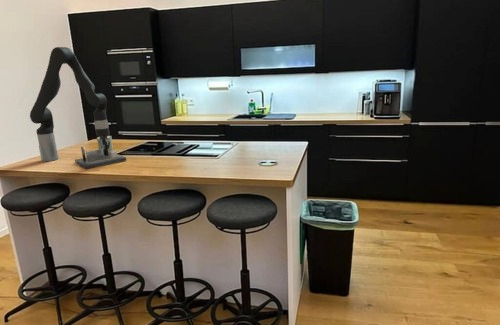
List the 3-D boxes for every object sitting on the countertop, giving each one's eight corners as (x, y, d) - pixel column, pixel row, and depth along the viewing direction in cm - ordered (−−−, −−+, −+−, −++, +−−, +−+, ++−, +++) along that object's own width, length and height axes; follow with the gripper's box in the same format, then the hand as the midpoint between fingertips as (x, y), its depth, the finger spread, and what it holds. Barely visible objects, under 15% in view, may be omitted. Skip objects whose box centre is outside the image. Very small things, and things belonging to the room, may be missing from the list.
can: (107, 151, 244) (105, 134, 241) (116, 153, 239) (114, 135, 236) (96, 155, 236) (93, 137, 233) (105, 156, 232) (102, 138, 228)
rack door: (87, 159, 216) (86, 152, 215) (86, 158, 218) (85, 151, 217) (108, 155, 225) (107, 148, 223) (107, 154, 226) (106, 147, 225)
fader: (112, 159, 215) (111, 152, 214) (110, 157, 218) (109, 151, 217) (117, 158, 217) (116, 151, 216) (115, 157, 220) (114, 150, 219)
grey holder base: (86, 169, 203) (83, 152, 201) (75, 162, 218) (72, 147, 215) (126, 160, 218) (124, 144, 216) (114, 155, 233) (111, 140, 230)
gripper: (91, 127, 215) (96, 154, 220) (99, 129, 206) (104, 158, 210) (104, 125, 220) (108, 152, 225) (112, 127, 210) (116, 155, 215)
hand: (106, 155), depth 218 cm, fingers closed
